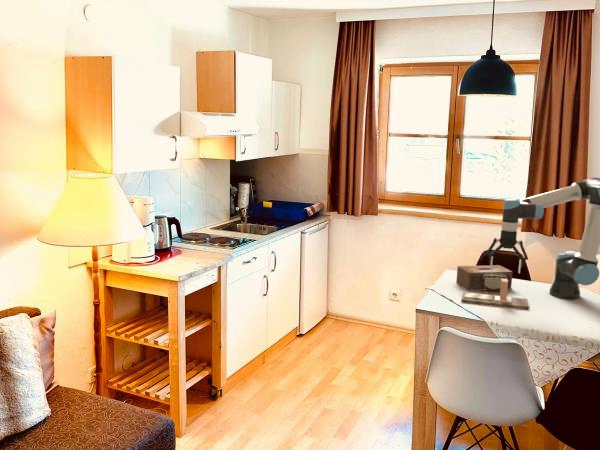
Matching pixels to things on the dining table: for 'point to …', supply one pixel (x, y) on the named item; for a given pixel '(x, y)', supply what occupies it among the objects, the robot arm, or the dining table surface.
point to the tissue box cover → (479, 276)
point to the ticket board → (490, 300)
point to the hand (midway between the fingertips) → (504, 271)
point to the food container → (493, 282)
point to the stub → (503, 292)
